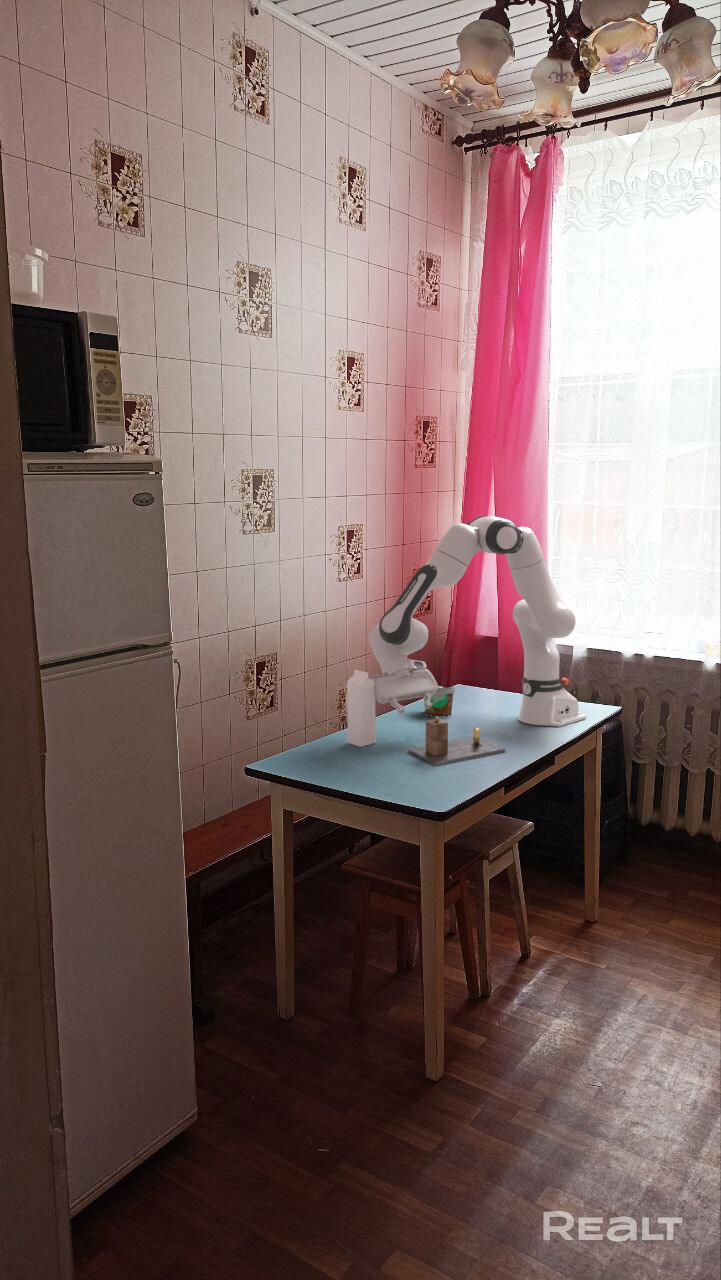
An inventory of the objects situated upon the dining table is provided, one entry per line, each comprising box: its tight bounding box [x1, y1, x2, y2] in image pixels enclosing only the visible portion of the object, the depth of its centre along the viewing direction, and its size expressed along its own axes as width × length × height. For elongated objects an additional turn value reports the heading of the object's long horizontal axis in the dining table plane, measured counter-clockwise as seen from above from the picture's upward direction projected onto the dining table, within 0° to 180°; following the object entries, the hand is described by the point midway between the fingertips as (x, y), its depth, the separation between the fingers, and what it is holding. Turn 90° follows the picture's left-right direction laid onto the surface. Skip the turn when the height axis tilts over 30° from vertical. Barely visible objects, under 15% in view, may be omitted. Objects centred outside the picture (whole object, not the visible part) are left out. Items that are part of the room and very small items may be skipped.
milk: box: [346, 669, 376, 748], centre depth 265 cm, size 6×6×22 cm
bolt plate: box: [407, 727, 506, 767], centre depth 257 cm, size 24×14×6 cm, turn 119°
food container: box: [423, 684, 456, 717], centre depth 297 cm, size 12×6×10 cm, turn 49°
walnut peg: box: [425, 717, 449, 756], centre depth 253 cm, size 4×4×10 cm
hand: (415, 709), depth 264 cm, fingers open, 8 cm apart
